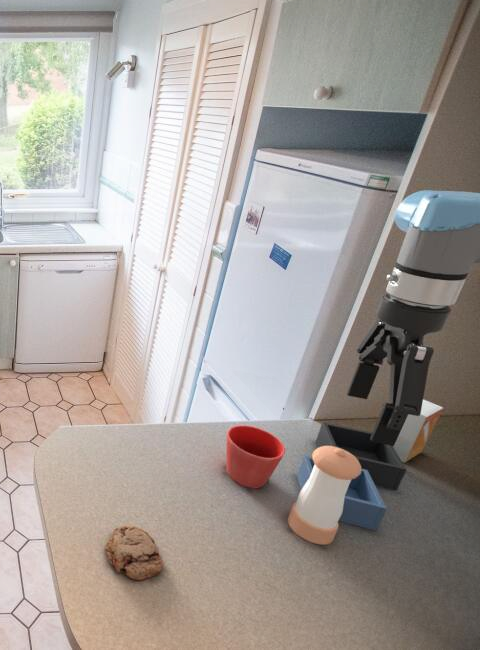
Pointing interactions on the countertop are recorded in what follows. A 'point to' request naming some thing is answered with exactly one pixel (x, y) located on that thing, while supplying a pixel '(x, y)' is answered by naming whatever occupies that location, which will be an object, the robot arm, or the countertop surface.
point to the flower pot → (252, 455)
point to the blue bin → (354, 498)
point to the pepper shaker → (324, 495)
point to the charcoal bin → (365, 453)
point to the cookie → (134, 553)
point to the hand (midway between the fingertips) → (368, 417)
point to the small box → (417, 431)
